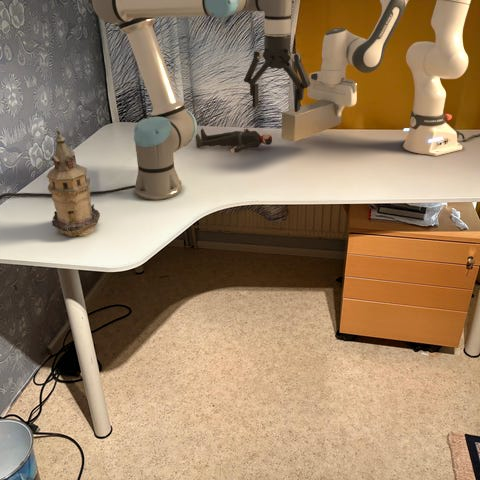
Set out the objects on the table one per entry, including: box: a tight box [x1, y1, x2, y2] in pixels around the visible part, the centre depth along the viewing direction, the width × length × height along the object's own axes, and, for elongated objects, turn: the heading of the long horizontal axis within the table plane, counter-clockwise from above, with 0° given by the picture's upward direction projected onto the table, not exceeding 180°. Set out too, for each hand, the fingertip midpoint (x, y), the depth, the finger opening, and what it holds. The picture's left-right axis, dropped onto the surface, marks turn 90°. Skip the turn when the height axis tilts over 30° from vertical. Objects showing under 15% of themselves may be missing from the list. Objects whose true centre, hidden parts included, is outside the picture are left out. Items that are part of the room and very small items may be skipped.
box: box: [281, 100, 343, 143], centre depth 194 cm, size 27×6×9 cm, turn 135°
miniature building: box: [46, 129, 101, 237], centre depth 148 cm, size 13×14×30 cm
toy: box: [195, 127, 273, 155], centre depth 214 cm, size 26×6×30 cm
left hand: (276, 108), depth 163 cm, fingers open, 13 cm apart
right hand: (330, 114), depth 201 cm, fingers closed on box, 6 cm apart
